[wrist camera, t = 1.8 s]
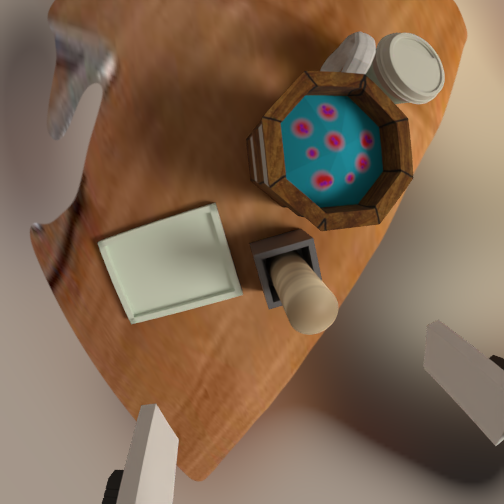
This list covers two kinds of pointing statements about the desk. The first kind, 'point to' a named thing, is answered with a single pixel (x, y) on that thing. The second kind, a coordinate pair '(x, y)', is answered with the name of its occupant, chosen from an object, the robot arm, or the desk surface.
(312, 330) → the dowel
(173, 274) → the tray
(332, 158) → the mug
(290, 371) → the desk surface
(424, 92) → the coffee cup
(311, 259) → the pen cup
